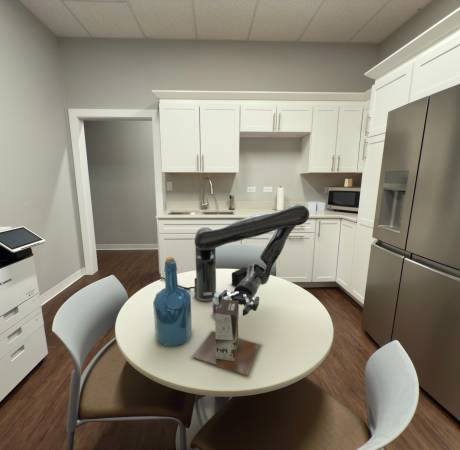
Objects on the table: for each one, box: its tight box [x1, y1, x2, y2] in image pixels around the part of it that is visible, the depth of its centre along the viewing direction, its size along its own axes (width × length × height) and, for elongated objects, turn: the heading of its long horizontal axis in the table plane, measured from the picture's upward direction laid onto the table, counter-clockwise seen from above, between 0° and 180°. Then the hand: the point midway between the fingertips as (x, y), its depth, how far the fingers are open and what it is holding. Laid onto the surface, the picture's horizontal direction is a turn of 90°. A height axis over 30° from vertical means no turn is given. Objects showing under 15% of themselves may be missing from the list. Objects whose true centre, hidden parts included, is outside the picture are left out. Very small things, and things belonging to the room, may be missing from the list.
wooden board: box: [193, 331, 260, 377], centre depth 83 cm, size 18×14×1 cm
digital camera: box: [231, 266, 248, 288], centre depth 131 cm, size 10×5×7 cm, turn 136°
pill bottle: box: [212, 291, 222, 318], centre depth 102 cm, size 5×5×10 cm
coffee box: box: [214, 299, 240, 361], centre depth 81 cm, size 9×6×16 cm
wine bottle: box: [152, 256, 193, 347], centre depth 88 cm, size 14×13×30 cm
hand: (231, 310), depth 84 cm, fingers open, 8 cm apart
